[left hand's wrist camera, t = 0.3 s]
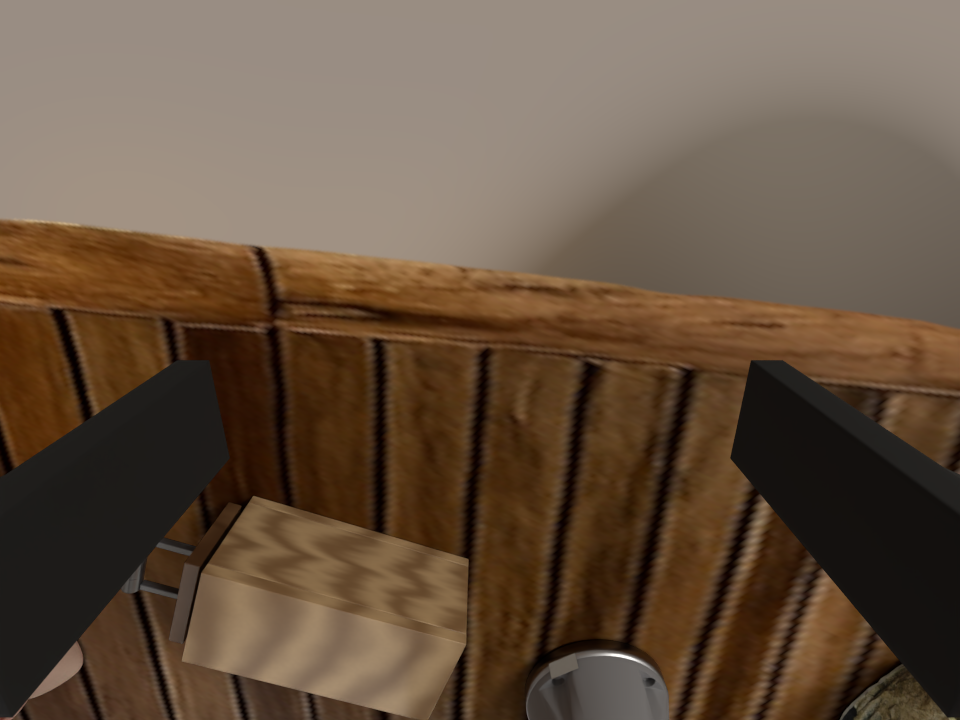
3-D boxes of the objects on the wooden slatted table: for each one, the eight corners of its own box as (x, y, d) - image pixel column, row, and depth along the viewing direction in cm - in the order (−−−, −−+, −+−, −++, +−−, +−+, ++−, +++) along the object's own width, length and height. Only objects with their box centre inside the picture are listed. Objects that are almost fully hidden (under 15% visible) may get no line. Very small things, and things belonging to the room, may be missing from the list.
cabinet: (233, 573, 50) (181, 661, 42) (253, 495, 47) (201, 572, 38) (435, 629, 53) (426, 722, 44) (468, 558, 50) (466, 644, 41)
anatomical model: (-1, 626, 47) (85, 701, 51) (34, 593, 51) (112, 665, 55) (-102, 670, 50) (-12, 739, 53) (-62, 635, 53) (20, 701, 57)
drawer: (152, 556, 48) (97, 622, 41) (165, 483, 45) (107, 541, 38) (409, 625, 52) (398, 698, 45) (437, 562, 49) (430, 629, 42)
